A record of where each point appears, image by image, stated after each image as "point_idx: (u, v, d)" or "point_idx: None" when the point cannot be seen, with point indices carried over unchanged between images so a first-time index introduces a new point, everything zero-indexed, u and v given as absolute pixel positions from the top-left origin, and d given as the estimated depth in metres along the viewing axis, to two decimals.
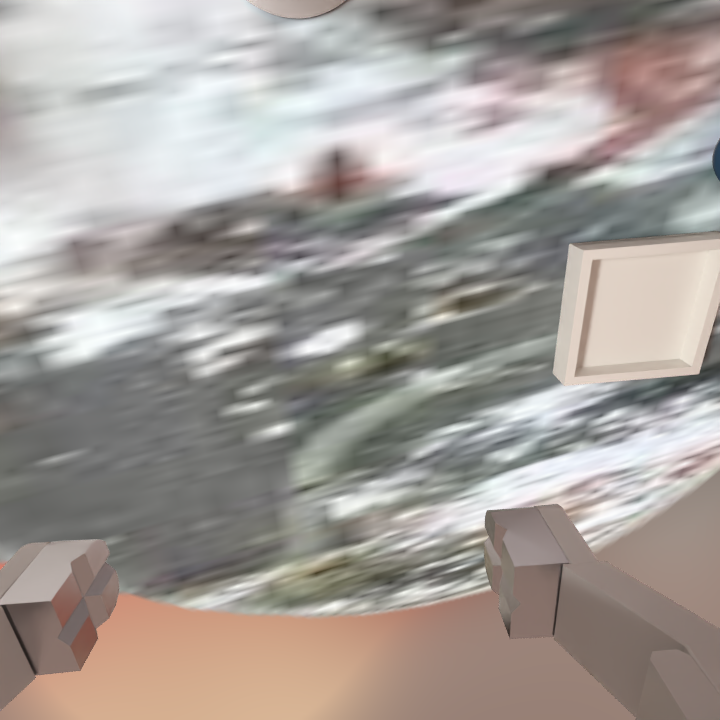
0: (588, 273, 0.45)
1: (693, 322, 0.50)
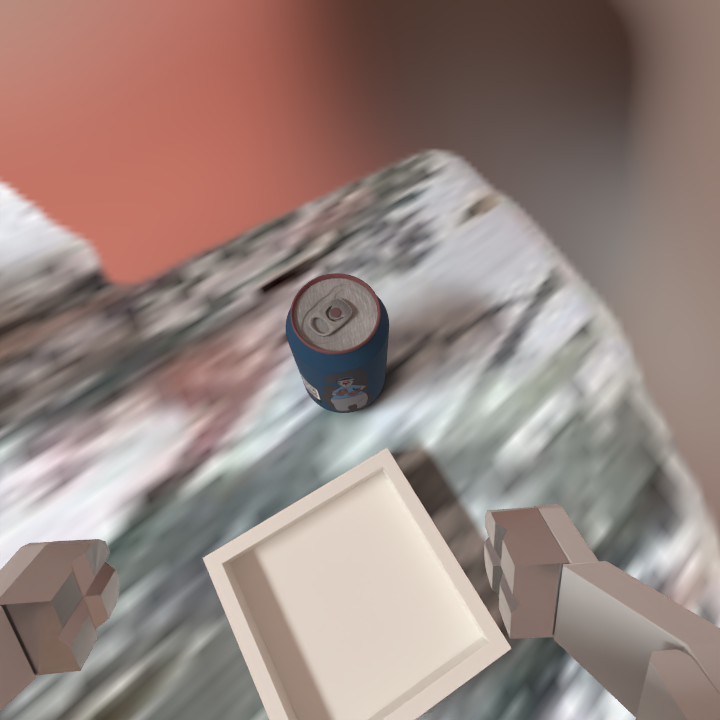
0: (227, 583, 0.31)
1: (444, 572, 0.32)
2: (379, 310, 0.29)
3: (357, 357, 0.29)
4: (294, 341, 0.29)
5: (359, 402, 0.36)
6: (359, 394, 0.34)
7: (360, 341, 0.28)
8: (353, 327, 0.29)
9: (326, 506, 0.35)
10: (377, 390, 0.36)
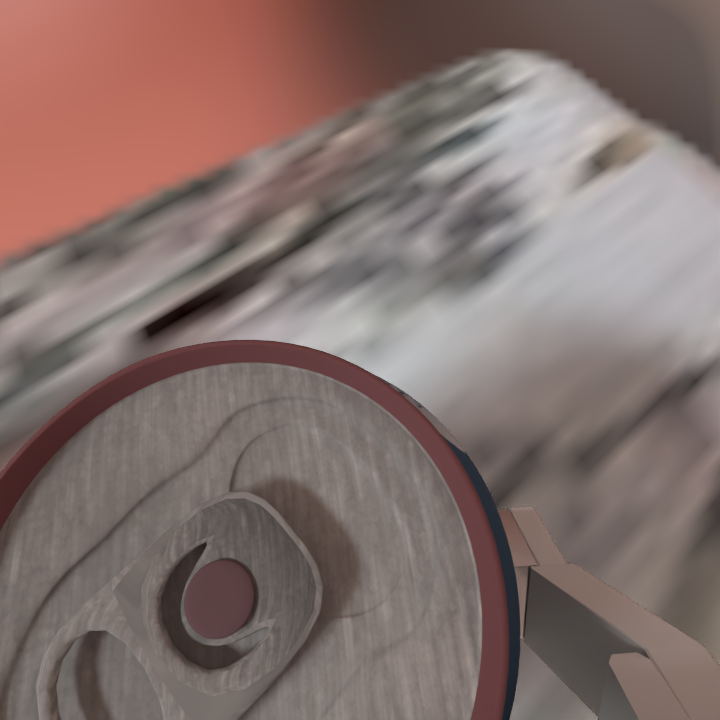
0: None
1: None
2: (499, 594, 0.04)
3: None
4: None
5: None
6: None
7: None
8: (332, 717, 0.04)
9: None
10: None
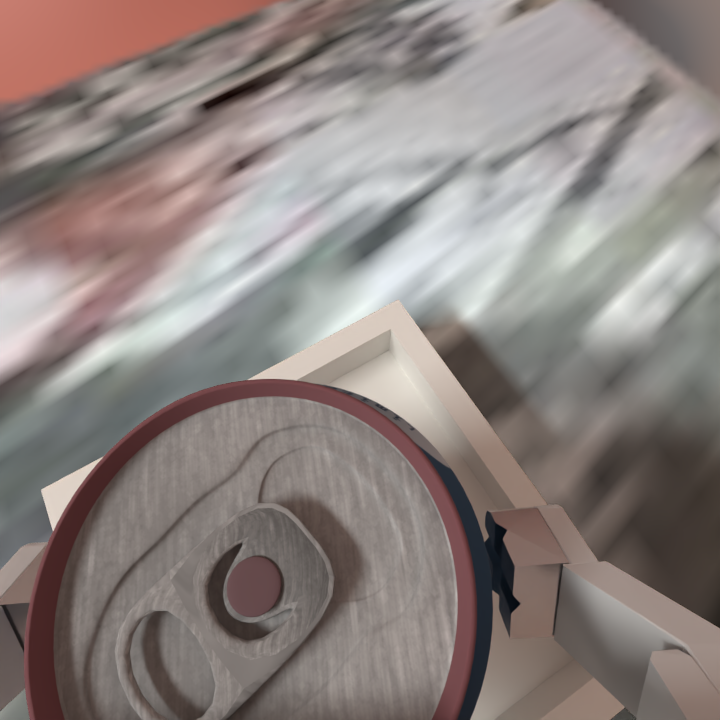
0: None
1: None
2: (470, 583, 0.06)
3: None
4: None
5: None
6: None
7: None
8: (342, 676, 0.06)
9: None
10: None
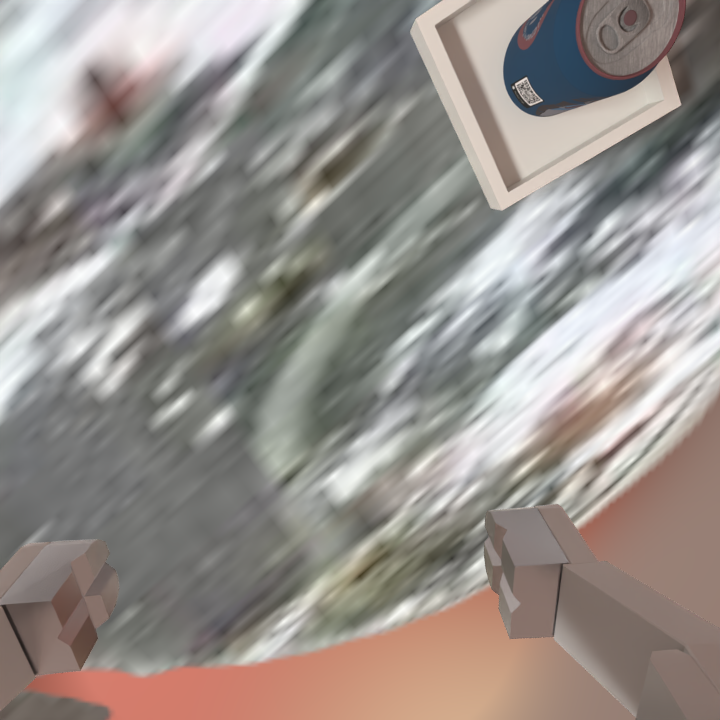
0: (440, 45, 0.33)
1: None
2: (682, 16, 0.24)
3: (635, 80, 0.26)
4: (568, 57, 0.26)
5: None
6: None
7: (648, 62, 0.25)
8: (644, 41, 0.25)
9: None
10: None
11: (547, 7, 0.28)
